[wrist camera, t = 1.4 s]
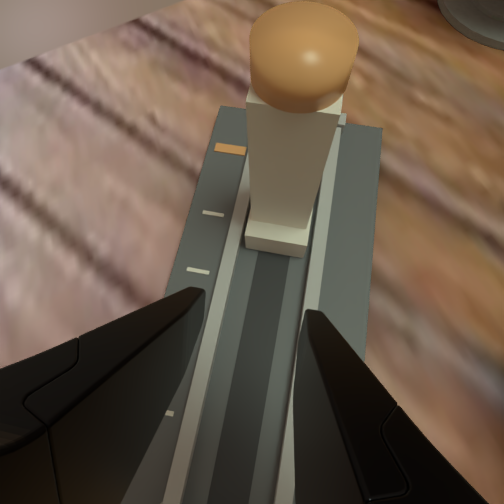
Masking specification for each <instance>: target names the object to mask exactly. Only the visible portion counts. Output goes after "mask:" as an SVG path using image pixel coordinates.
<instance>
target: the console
mask: <svg viewBox="0 0 504 504" xmlns="http://www.w3.org/2000/svg"><path fill="white" fill-rule="evenodd" d="M345 122H346V114H345V113H341V114H340V118H339V121H338V125H337V128H336V131H335V135H334V138H333V141H332V145H331V148H330V151H329V155H328V158H327V161H326V165H325V168H324V171H323V175H322V178H321V182H320V185H319V188H318V192H317V195H316V198H315V202H314V205H313V211H312V218H311V224H310V231H309V237H308V244H307V248H306V251H305V254H304V257H303V258H299V257H293V256H288V255H282V254H276V253H271V252H265V251H259V250H254V249H248V248H246V244H245V231H246V227H247V222H248V218H249V213H250V209H251V200H250V180H249V159H248V138H247V117H246V109H242V108H235V107H227V106H220V109H219V113H218V116H217V119H216V123H215V126H214V130H213V133H212V136H211V140H210V143H209V147H208V150H207V153H206V157H205V160H204V164H203V167H202V170H201V174H200V177H199V181H198V184H197V187H196V191H195V194H194V198H193V201H192V204H191V208H190V211H189V215H188V218H187V221H186V225H185V228H184V232H183V235H182V238H181V242H180V245H179V249H178V252H177V255H176V259H175V262H174V266H173V269H172V272H171V276H170V279H169V283H168V286H167V289H166V293H165V296H164V298H165V297H167V296H169V295H171V294H174V293H176V292H178V291H180V290H183V289H185V288H187V287H190V286H193V287H198V288H203V289H205V292H206V298H205V311H204V319H203V324H202V327H201V330H200V332H199V335H198V338H197V341H196V344H195V347H194V350H193V352H192V355H191V358H190V361H189V364H188V367H187V369H186V372H185V375H184V377H183V379H182V381H181V383H180V385H179V387H178V389H177V391H176V393H175V395H174V397H173V399H172V401H171V403H170V405H169V407H168V409H167V411H166V413H165V415H164V417H163V419H162V422H161V424H160V426H159V428H158V430H157V432H156V434H155V436H154V438H153V440H152V442H151V444H150V446H149V448H148V450H147V452H146V454H145V456H144V458H143V460H142V462H141V464H140V466H139V468H138V470H137V472H136V474H135V476H134V478H133V480H132V482H131V484H130V486H129V488H128V490H127V492H126V494H125V496H124V498H123V500H122V502H121V504H295V472H294V433H293V388H294V378H295V369H296V359H297V350H298V341H299V335H300V331H301V326H302V322H303V317H304V313H305V310H306V309H313V310H319V311H322V312H323V313H324V314H325V315H326V316H327V318H328V319H329V320H330V321H331V323H332V324H333V325H334V326H335V327H336V329H337V330H338V331H339V332H340V334H341V335H342V336H343V337H344V339H345V340H346V341H347V342H348V343H349V345H350V346H351V347H352V348H353V350H354V351H355V352H356V353H357V354H358V356H359V357H360V358H361V359H362V361H363V362H364V360H365V347H366V334H367V321H368V308H369V295H370V282H371V270H372V257H373V244H374V231H375V218H376V205H377V192H378V179H379V166H380V154H381V141H382V128H377V127H370V126H363V125H356V124H349V123H345Z"/></svg>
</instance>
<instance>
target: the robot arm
mask: <svg viewBox="0 0 504 504" xmlns="http://www.w3.org/2000/svg"><path fill="white" fill-rule="evenodd" d="M205 298H206V292H205V289H203V288H198V287H193V286H190V287H187V288H185V289H183V290H180V291H178V292H176V293H174V294H171V295H169V296H167V297H165V298H163V299H160V300H158V301H156V302H154V303H152V304H149V305H147V306H145V307H143V308H140V309H138V310H136V311H134V312H132V313H129V314H127V315H125V316H123V317H120V318H118V319H116V320H114V321H112V322H109V323H107V324H105V325H103V326H100V327H98V328H96V329H94V330H92V331H89V332H87V333H85V334H83V335H80V336H79V338H74V339H71V340H69V341H67V342H65V343H63V344H60V345H58V346H56V347H53V348H51V349H49V350H46V351H44V352H42V353H39V354H37V355H35V356H32V357H29V358H27V359H24V360H22V361H19V362H17V363H14V364H11V365H9V366H6V367H4V368H1V369H0V504H121V502H122V500H123V498H124V496H125V494H126V492H127V490H128V488H129V486H130V484H131V482H132V480H133V478H134V476H135V474H136V472H137V470H138V468H139V466H140V464H141V462H142V460H143V458H144V456H145V454H146V452H147V450H148V448H149V446H150V444H151V442H152V440H153V438H154V436H155V434H156V432H157V430H158V428H159V426H160V424H161V422H162V419H163V417H164V415H165V413H166V411H167V409H168V407H169V405H170V403H171V401H172V399H173V397H174V395H175V393H176V391H177V389H178V387H179V385H180V383H181V381H182V379H183V377H184V375H185V372H186V369H187V367H188V364H189V361H190V358H191V355H192V352H193V350H194V347H195V344H196V341H197V338H198V335H199V332H200V330H201V327H202V324H203V319H204V311H205ZM293 433H294V472H295V504H489V503H488V502H487V501H486V500H485V499H484V498H483V497H482V496H481V495H480V494H479V493H478V492H477V491H476V490H475V489H474V488H473V487H472V486H471V485H470V484H469V483H468V482H467V481H466V480H465V479H464V478H463V476H462V475H461V474H460V473H459V472H458V471H457V470H456V469H455V468H454V467H453V466H452V465H451V464H450V463H449V462H448V461H447V460H446V459H445V457H444V456H443V455H442V454H441V453H440V452H439V451H438V450H437V449H436V448H435V447H434V446H433V445H432V443H431V442H430V441H429V440H428V439H427V438H426V437H425V435H424V434H423V433H422V432H421V431H420V430H419V428H418V427H417V426H416V425H415V424H414V423H413V421H412V420H411V419H410V418H409V417H408V415H407V414H406V413H405V412H404V411H403V409H402V408H401V407H400V406H397V402H396V401H395V400H394V398H393V397H392V396H391V395H390V394H389V392H388V391H387V390H386V389H385V387H384V386H383V385H382V384H381V383H380V381H379V380H378V379H377V378H376V376H375V375H374V374H373V373H372V372H371V370H370V369H369V368H368V367H367V365H366V364H365V363H364V362H363V361H362V359H361V358H360V357H359V356H358V354H357V353H356V352H355V351H354V350H353V348H352V347H351V346H350V345H349V343H348V342H347V341H346V340H345V339H344V337H343V336H342V335H341V334H340V332H339V331H338V330H337V329H336V327H335V326H334V325H333V324H332V323H331V321H330V320H329V319H328V318H327V316H326V315H325V314H324V313H323V312H322V311H319V310H313V309H306V310H305V313H304V317H303V322H302V326H301V331H300V335H299V341H298V350H297V359H296V369H295V378H294V388H293Z"/></svg>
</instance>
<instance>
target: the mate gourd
mask: <svg viewBox="0 0 504 504" xmlns="http://www.w3.org/2000/svg"><path fill="white" fill-rule="evenodd" d="M437 1H438V5H439V8H440V10H441V13H442V14H443V16H444V17H445V18H446V20H447V21H448V22H449V23H450V24H451V25H452V26H453V27H454V28H455V29H456V30H457V31H459V32H460V33H462V34H463V35H465V36H466V37H468V38H470V39H472V40H474V41H476V42H478V43H480V44H483V45H486V46H489V47H492V48H495V49H500V50H504V0H437Z"/></svg>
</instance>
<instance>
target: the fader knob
mask: <svg viewBox="0 0 504 504" xmlns="http://www.w3.org/2000/svg"><path fill="white" fill-rule="evenodd" d="M358 45H359V37H358V33H357V30H356V28H355V26H354V24H353V23H352V22H351V20H350V19H349V18H348V17H347V16H346V15H344V14H343V13H342V12H340V11H338V10H337V9H335V8H332V7H330V6H327V5H325V4H321V3H316V2H308V1H297V2H289V3H284V4H281V5H278V6H276V7H273V8H271V9H269V10H268V11H266V12H265V13H263V14H262V15H261V16H260V17H259V18H258V19H257V20H256V21H255V23H254V25H253V26H252V29H251V31H250V74H251V84H250V88H249V91H248V95H247V99H246V117H247V138H248V159H249V180H250V200H251V209H250V213H249V218H248V222H247V227H246V231H245V244H246V248H248V249H254V250H259V251H265V252H271V253H276V254H282V255H288V256H293V257H299V258H303V257H304V254H305V251H306V248H307V244H308V237H309V231H310V224H311V218H312V211H313V205H314V202H315V198H316V195H317V192H318V188H319V185H320V182H321V178H322V175H323V171H324V168H325V165H326V161H327V158H328V155H329V151H330V148H331V145H332V141H333V138H334V135H335V131H336V128H337V125H338V121H339V118H340V114H341V107H342V99H343V93H344V92H345V89H346V87H347V84H348V80H349V77H350V74H351V70H352V67H353V63H354V60H355V57H356V53H357V50H358Z"/></svg>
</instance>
